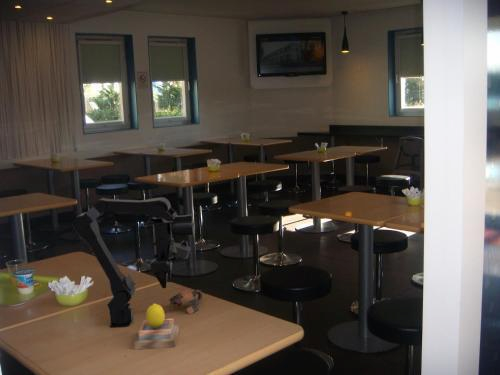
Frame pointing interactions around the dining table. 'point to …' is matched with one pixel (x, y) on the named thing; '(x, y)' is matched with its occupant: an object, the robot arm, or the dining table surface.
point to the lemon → (155, 316)
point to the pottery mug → (187, 299)
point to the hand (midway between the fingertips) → (166, 283)
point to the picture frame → (157, 335)
